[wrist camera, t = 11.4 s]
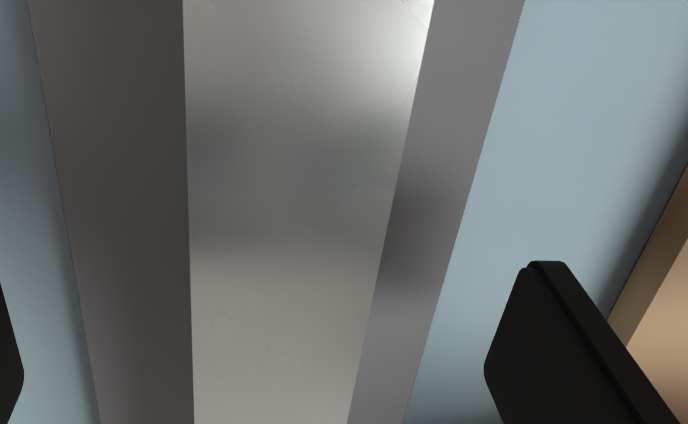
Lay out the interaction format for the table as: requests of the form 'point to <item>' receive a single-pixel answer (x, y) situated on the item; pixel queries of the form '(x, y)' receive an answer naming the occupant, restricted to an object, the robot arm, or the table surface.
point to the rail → (291, 194)
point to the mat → (172, 194)
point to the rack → (660, 306)
